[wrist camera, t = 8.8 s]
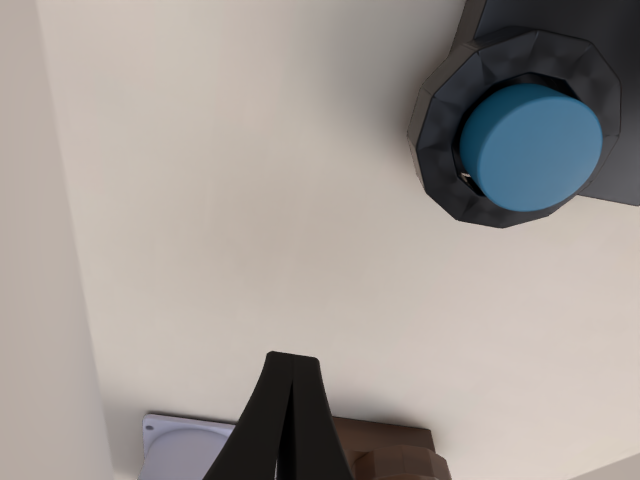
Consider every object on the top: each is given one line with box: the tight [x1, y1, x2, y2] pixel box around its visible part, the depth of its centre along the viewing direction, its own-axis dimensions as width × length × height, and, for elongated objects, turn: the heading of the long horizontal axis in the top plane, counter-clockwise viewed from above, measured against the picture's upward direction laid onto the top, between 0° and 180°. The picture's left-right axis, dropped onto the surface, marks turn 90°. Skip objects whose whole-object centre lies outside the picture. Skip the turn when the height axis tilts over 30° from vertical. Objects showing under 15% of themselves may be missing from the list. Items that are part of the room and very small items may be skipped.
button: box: [459, 83, 603, 212], centre depth 13 cm, size 4×4×2 cm
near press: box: [407, 0, 640, 229], centre depth 13 cm, size 15×10×4 cm
